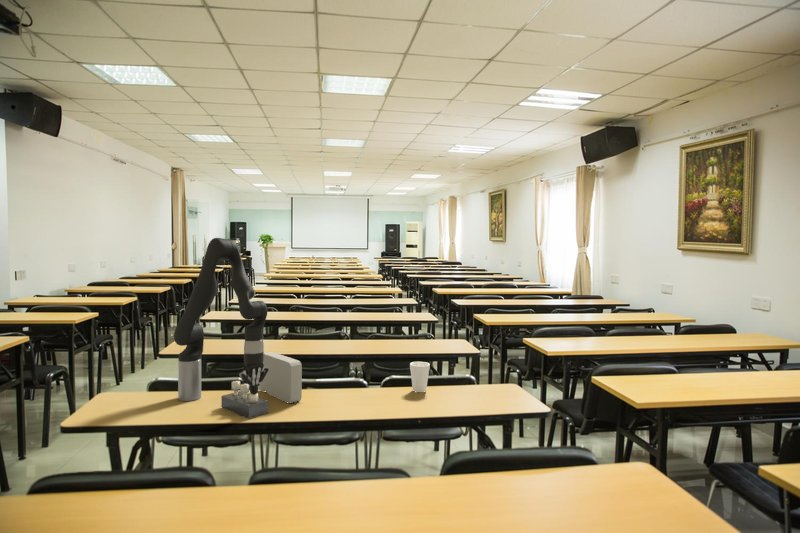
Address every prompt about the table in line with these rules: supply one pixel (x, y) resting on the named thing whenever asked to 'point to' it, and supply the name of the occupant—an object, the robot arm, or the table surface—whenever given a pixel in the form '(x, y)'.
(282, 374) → the rounded white slab
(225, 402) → the mount
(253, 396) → the knob
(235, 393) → the knob
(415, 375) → the foam cup
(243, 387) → the knob
